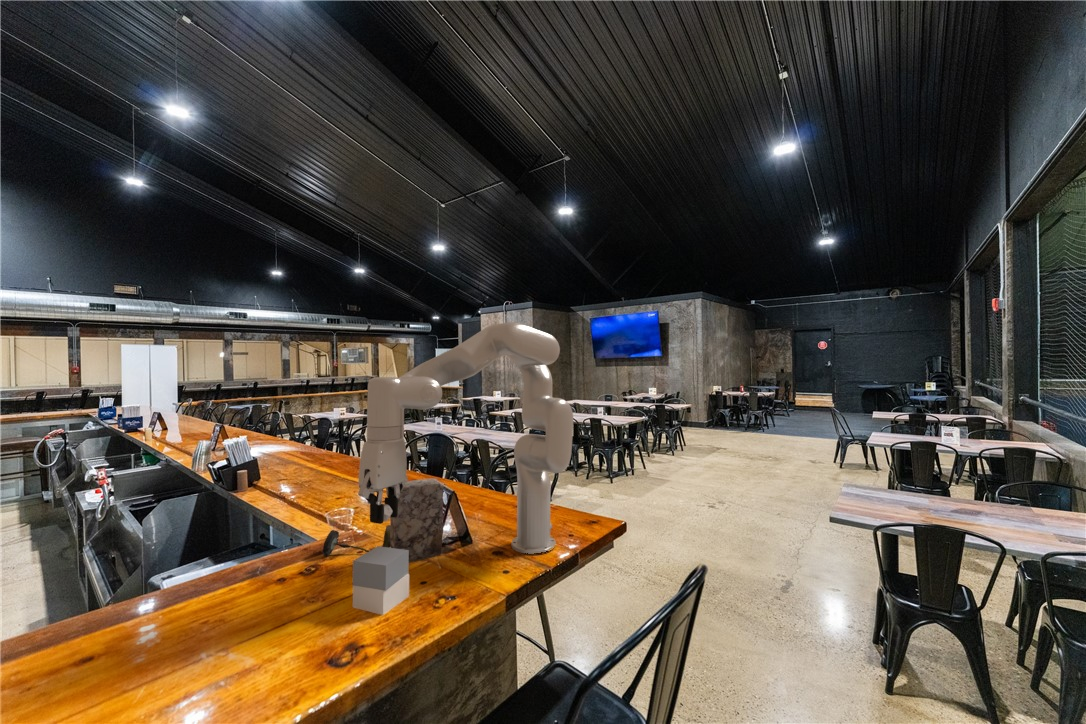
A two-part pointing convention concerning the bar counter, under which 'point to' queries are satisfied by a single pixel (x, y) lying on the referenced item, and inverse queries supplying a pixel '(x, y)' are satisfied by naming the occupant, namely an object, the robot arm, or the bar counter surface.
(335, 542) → the artificial flower
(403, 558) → the upper block
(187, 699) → the bar counter surface
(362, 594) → the lower block
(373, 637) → the bar counter surface
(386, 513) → the game die
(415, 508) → the stone block
